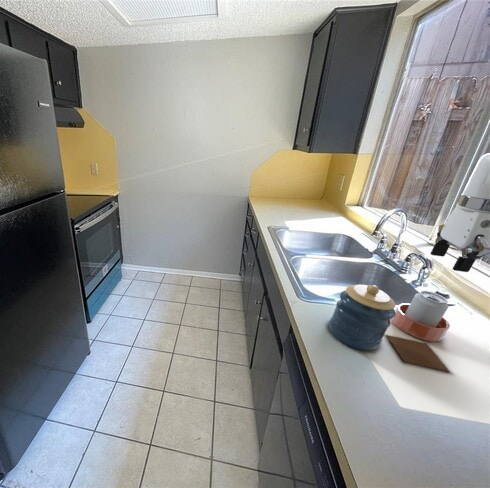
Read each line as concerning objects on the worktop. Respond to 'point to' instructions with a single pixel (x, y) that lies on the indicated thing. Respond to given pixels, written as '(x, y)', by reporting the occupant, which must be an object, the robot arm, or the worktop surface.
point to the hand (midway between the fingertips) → (447, 262)
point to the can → (427, 308)
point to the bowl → (419, 326)
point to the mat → (416, 353)
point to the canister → (362, 316)
